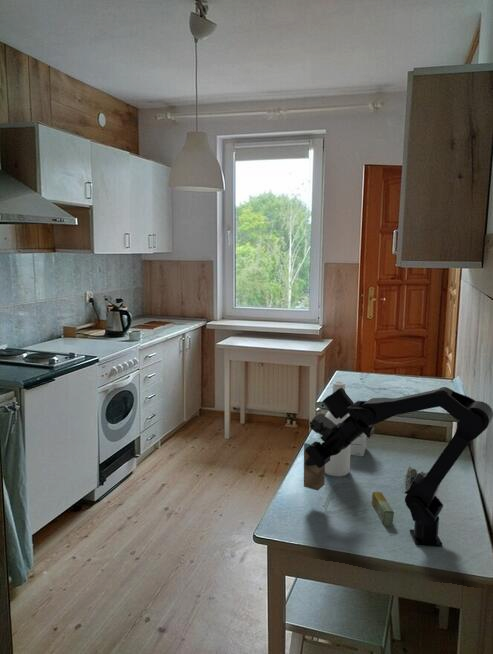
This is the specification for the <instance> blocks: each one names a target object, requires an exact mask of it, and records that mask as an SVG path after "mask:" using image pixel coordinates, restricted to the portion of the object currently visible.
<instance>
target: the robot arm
mask: <svg viewBox="0 0 493 654" xmlns="http://www.w3.org/2000/svg"><path fill="white" fill-rule="evenodd" d="M332 393H333V392H332ZM332 393H331V394H330V395H328V396H326V397H324V399H323V400H322V401H321V403H322V405H323V406H324V407H325V408H326V409H327V410H328V411H330V413H331V414H332V415H333V416H334V418H336V419H338V418H339V417H340V419H342V418H343V417H345V416H346V415H347V414H349V415H350V416H348V417H347V418H346V419H345V420H344V421H342V422H341V423H339V424H337V425H336V424H334V423H333V422H332V421H331V420H330V419H328V418H327V417H325V415H324V414H322V413H318V414H317V415H315V416H314V417H313V418H312V420H311V421H309V428H310V430H312V431H313V432H314V433H316V434H319V435H320V440H322V441H324V442H323V443H320V442H316V441H315V442H314V443H312V444H311V445H310V446H308V447H307V448H306V449H305V450H306V452H307V454H308V455H309V458H308V459H307V461H306V462H305V464H306V465H307V466H312V465H316V466H317V467H318V468H321V467H322V466H324V465H325V464H326V463H328V462H329V461H330V456H333V455H336V454H338V453H339V452H341V450H342V449H343V450H344V449H345V448H346V447H348V446H349V445H350V444H351V442H353V441H354V440H355V439H357V438H358V437H359V436H360V435H362V434H363V433H365V435H366V438H368V439H369V438H371V437H372V436H373V435H374V434H375V425H376V424H379V423H381V422H384V421H387V420H388V419H390V418H392V417H394V416H397V415H398V416H399V415H403V414H409V413H413V412H419V411H423V410H424V411H425V410H430V409H435V408H442V409H443V410H445V412H447V413H448V414H449V415H450V416H451V417H452V418H453V419H455V420H457V421H459V422H458V424H457V426H456V429H455V432H454V434H453V436H452V438H451V439H450V441H449V442H447V443H448V444H447V445H446V446H445V448H444V449H443V450H442V452H441V453H440V455H439V456H438V458H437V459H436V461H435V462H434V464H433V465H432V467H430V470H429V471H428V472H427V474H426V475H425V476H423V475H422V474H421V472H418V473H419V474H418V475H417V476H416V478H415V479H413V480H412V482H410V484H411V485H410V486H409V487H408V489H405V492H404V494H406V495H405V497H404V502H405V505H406V507H407V509H409V511H410V514H411V518H412V522H414V525H413V527H414V528H413V529H409V534H410V536H411V538H412V539H413V541H414V544H415V545H416V546H423V547H427V546H428V547H443V542H442V541H441V539H440V537H439V525H440V516H439V514H440V513H441V512H442V509H443V508H444V504H443V503H442V502H441V500H440V499H439V498H438V496H437V493H438V490H439V489H440V485H441V483H442V481H443V480H444V479H445V478H446V476H447V474H448V473H449V472H450V470H452V468H453V466H454V465H455V463H456V462H457V460H458V459H459V458H460V457H461V455H462V454H463V452H464V451H465V450H466V448H467V447H468V445H469V444H470V443H472V442H473V441H474V440H475V439H477V438H478V437H479V436H480V435H481V434H482V433H484V431H485V430H486V429H487V428H488V427H489V425H490V423H491V421H492V419H493V409H492V408H491V406H490V404H488V403H486V402H484V401H479V400H475V399H473V398H472V397H470V396H468V395H464V394H462V393H459V392H456V391H455V390H453V389H451V388H449V387H446V386H441V387H439V388H436V389H434V390H433V389H432V390H428V391H424V392H419V393H413V394H408V395H405V396H401V397H392V398H391V397H371V398H370V399H368V400H356V401H355V402H354V401H353V400H352V399H351V398H350V397H349V395H348V394H347V393H346V390H345V391H344V389H343V388H339V389H338V390H337V391H335V392H334V393H333V394H332ZM324 446H325V447H324Z"/></svg>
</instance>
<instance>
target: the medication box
mask: <svg viewBox="0 0 493 654" xmlns="http://www.w3.org/2000/svg"><path fill="white" fill-rule="evenodd" d="M371 505H372V507H373V509H374V511H375V513H376V514H377V515H376V516H378V519H379V520H380V522H381V524H382V525H383V526H384V527H385V526H387V527H389V526H390V527H391V526H394V525H393V523H394V514H395V512H394V510H393V509H392V507H391V505H390V504H389V502H388V501H387V499H386V497H385V496H384V494H383V492H382V491H372V496H371Z"/></svg>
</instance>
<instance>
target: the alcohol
mask: <svg viewBox="0 0 493 654" xmlns="http://www.w3.org/2000/svg"><path fill="white" fill-rule="evenodd" d="M332 385H333V386H332V393H331V394H333V393H334V392H335V391H337V390H338V389H339V388H343V389H344V391H345V392H346V383H345V382H344V381H333V382H332ZM324 416H325V417H327V418H328V419H330V420H331V421H332V422H333V423H334V424H336V425H337V424H339V423H341V422H342V421H344V420H345V419H346V418H347V417H348V416H350V415H349V414H347V415H346V416H345V417H343V418H342V419H340V417H339V418H338V419H336V418H334V416H333V415H332V414H331V413H330V411H329V410H328V411H327V412H326V414H325V415H324ZM350 451H351V444H350V445H349V446H348V447H346V448H345V449H344V450H343V449H342V450H341V452H339V453H338V454H336V455H333V456H330V461H329V462H328V463H326V464H325V475H328V476H331V477H336V478H337V477H338V478H341V477H345V476H347V475H348V474H349V472H350V471H351V455H350Z"/></svg>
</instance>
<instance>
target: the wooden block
mask: <svg viewBox="0 0 493 654" xmlns="http://www.w3.org/2000/svg"><path fill="white" fill-rule="evenodd" d="M315 441H316V442H320V443H323V442H324V441H323V440H322V439H319V438H318V439H316V438H313V437H311V438H310V439H308V440H306V441H304V442H303V487H304V488H307V489H311V490H315V491H317V492H318V491H319V490H321V489H322V488H323V487H324V486H325V482H326V481H325V478H326V476H325V475H326V473H325V465H324V466H322V467H321V468H318V467H317V466H316V465H312V466H307V465H306V464H305V462H306V461H307V459H308V458H309V455H308V454H307V452H306V450H305V449H306V448H307V447H308V446H310V445H311V444H312V443H314V442H315ZM324 447H325V446H324Z"/></svg>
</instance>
